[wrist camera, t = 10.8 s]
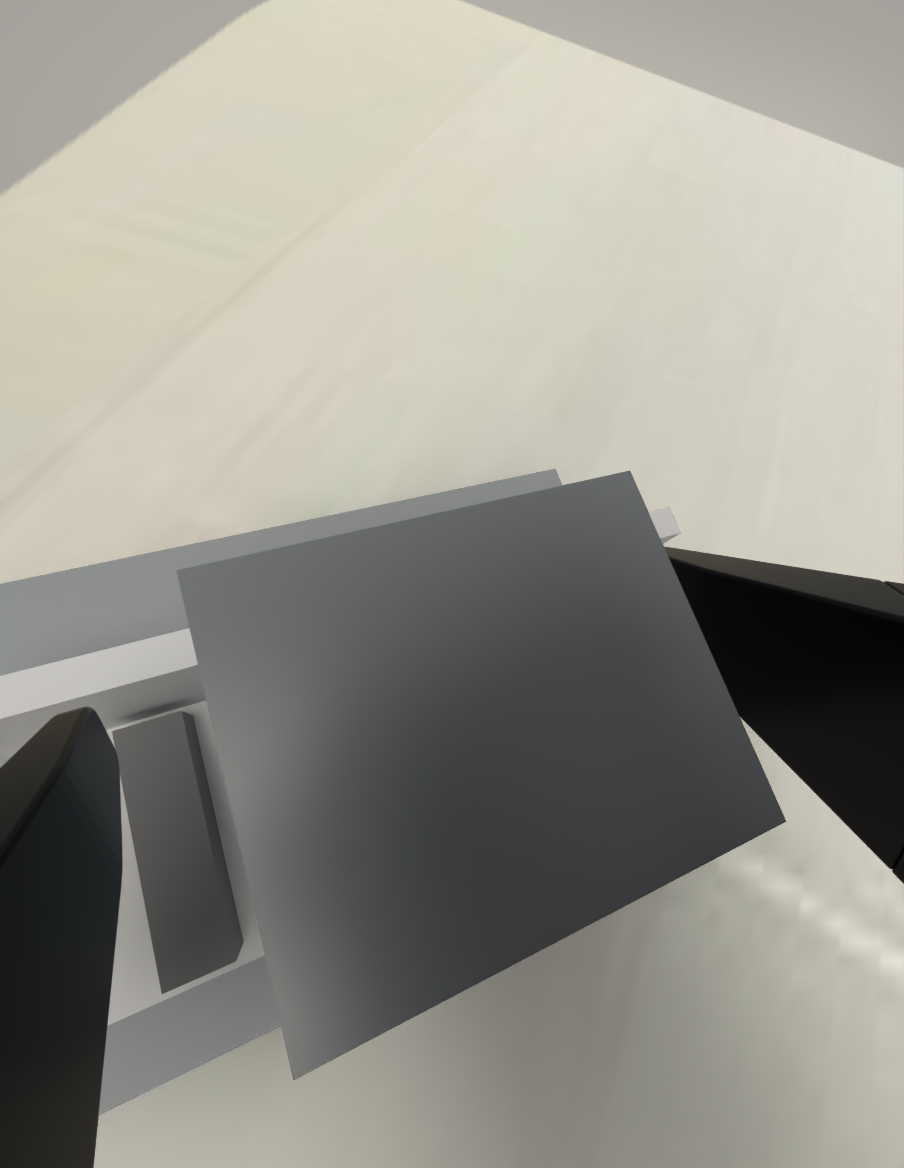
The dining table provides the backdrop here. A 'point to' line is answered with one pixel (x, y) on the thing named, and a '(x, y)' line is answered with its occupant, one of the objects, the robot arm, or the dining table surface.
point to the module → (461, 746)
